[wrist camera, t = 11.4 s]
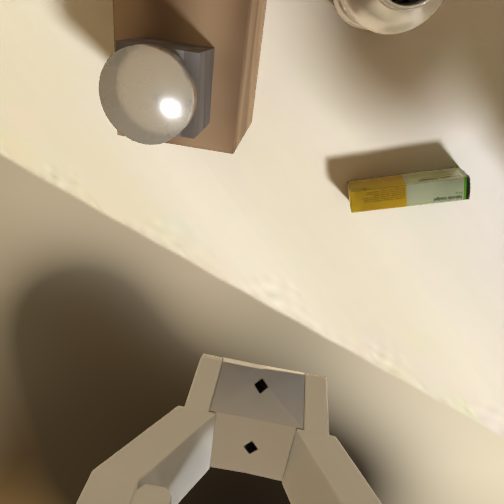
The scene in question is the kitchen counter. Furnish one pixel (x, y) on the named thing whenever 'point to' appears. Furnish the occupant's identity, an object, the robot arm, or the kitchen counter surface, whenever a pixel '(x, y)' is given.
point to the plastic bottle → (386, 14)
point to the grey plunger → (147, 93)
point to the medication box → (409, 189)
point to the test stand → (204, 58)
